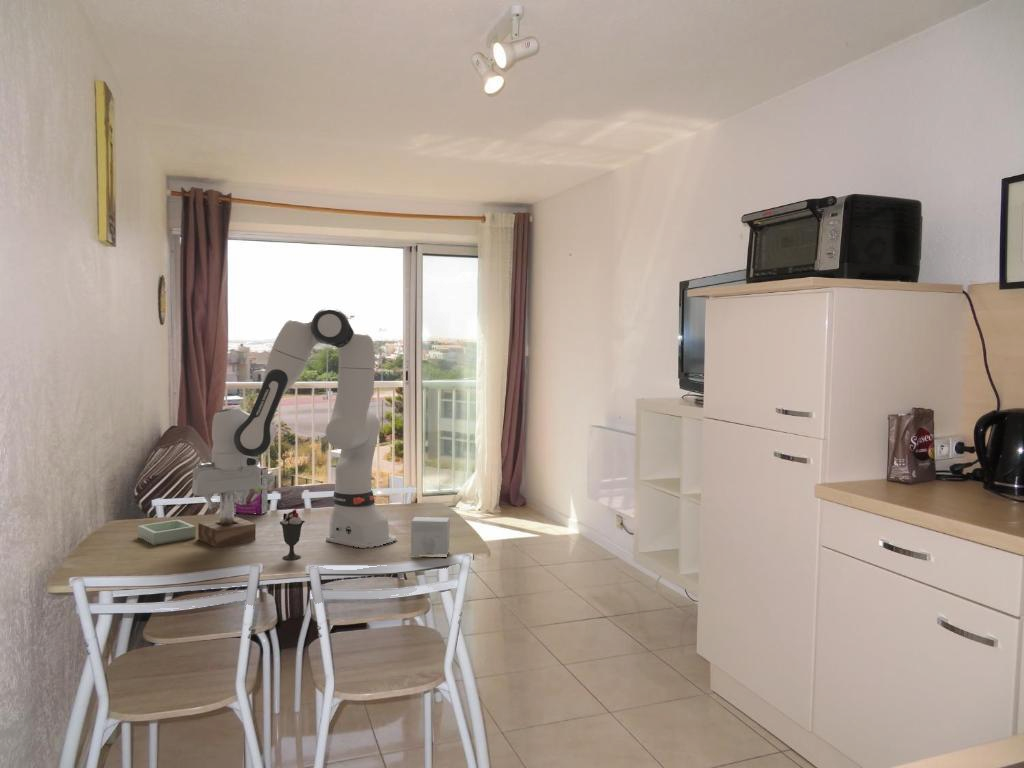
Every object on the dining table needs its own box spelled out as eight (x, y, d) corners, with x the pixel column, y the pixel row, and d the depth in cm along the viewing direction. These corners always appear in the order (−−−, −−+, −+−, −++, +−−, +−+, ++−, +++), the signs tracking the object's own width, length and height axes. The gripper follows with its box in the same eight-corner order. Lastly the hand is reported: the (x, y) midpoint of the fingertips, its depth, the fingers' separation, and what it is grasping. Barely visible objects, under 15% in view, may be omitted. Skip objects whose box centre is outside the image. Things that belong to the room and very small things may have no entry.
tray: (195, 538, 214) (195, 526, 214) (154, 545, 206) (154, 533, 205) (178, 530, 222) (178, 519, 222) (138, 537, 214) (138, 525, 213)
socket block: (255, 539, 214) (255, 523, 214) (216, 547, 205) (216, 530, 205) (236, 532, 222) (236, 516, 222) (198, 539, 213) (198, 522, 213)
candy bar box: (231, 513, 247) (231, 467, 246) (238, 510, 252) (238, 465, 251) (261, 515, 246) (262, 468, 245) (268, 512, 251) (268, 466, 250)
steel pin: (236, 539, 214) (236, 490, 213) (223, 542, 211) (224, 492, 210) (230, 537, 216) (230, 488, 216) (217, 539, 213) (217, 490, 213)
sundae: (304, 560, 194) (305, 506, 194) (278, 561, 192) (279, 507, 192) (304, 553, 201) (304, 501, 200) (279, 555, 199) (280, 502, 198)
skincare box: (449, 552, 206) (450, 516, 206) (446, 558, 200) (447, 522, 199) (413, 551, 206) (414, 515, 206) (410, 557, 200) (410, 520, 199)
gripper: (197, 465, 203) (197, 513, 203) (263, 459, 218) (263, 503, 219) (188, 463, 207) (188, 509, 208) (253, 456, 222) (253, 500, 223)
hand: (227, 506), depth 213 cm, fingers open, 8 cm apart
